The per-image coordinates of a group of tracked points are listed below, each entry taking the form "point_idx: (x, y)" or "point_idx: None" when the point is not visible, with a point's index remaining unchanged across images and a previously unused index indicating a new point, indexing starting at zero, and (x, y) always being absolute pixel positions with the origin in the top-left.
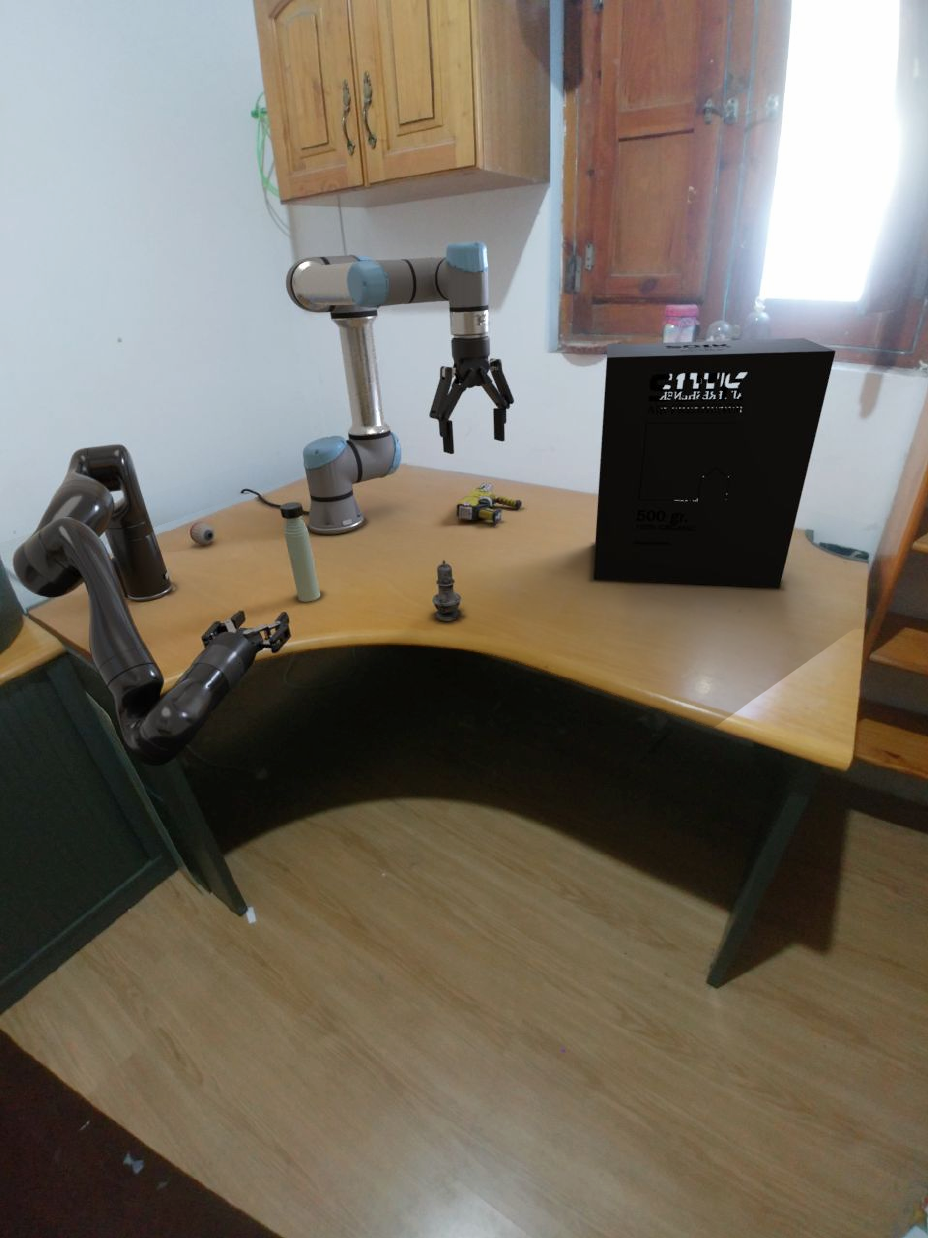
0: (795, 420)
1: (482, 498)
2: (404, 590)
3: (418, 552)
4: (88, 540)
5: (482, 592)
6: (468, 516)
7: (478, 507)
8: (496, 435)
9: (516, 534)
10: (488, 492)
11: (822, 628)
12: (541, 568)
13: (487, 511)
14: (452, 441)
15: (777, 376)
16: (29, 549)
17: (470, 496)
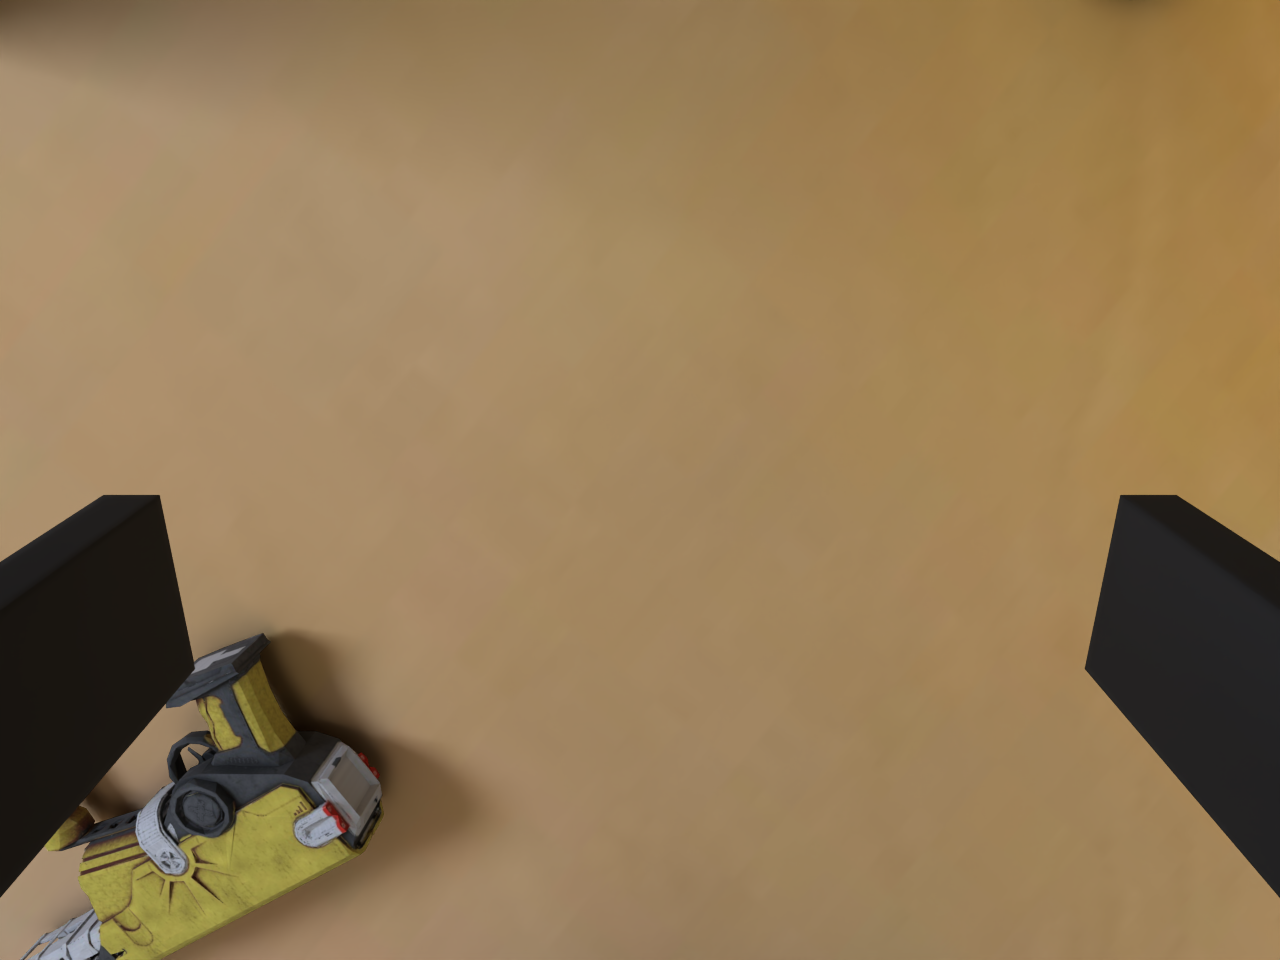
0: None
1: (182, 847)
2: (1087, 328)
3: (759, 629)
4: None
5: (838, 11)
6: (346, 760)
7: (272, 770)
8: (149, 650)
9: (230, 472)
10: (94, 901)
11: None
12: (394, 10)
13: (249, 715)
14: (1257, 580)
15: None
16: None
17: (229, 898)
